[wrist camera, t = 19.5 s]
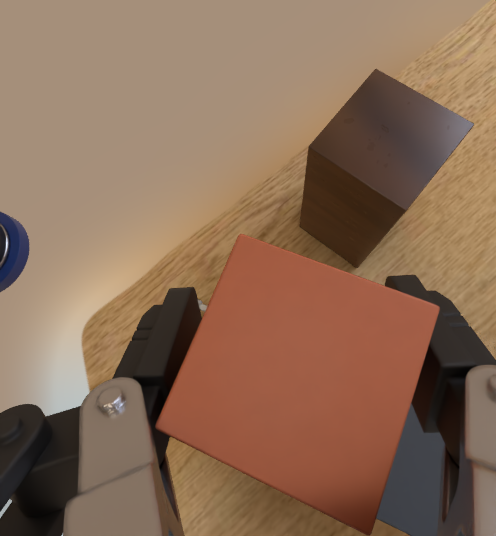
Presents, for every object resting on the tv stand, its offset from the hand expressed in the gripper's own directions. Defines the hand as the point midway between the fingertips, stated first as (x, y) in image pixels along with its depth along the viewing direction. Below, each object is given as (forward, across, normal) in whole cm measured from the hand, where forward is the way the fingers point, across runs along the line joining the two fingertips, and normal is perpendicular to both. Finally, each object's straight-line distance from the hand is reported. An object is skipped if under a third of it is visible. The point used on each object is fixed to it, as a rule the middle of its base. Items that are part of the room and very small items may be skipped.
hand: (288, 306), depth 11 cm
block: (+2, 0, +4) cm, 5 cm away
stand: (+28, -8, +10) cm, 31 cm away
